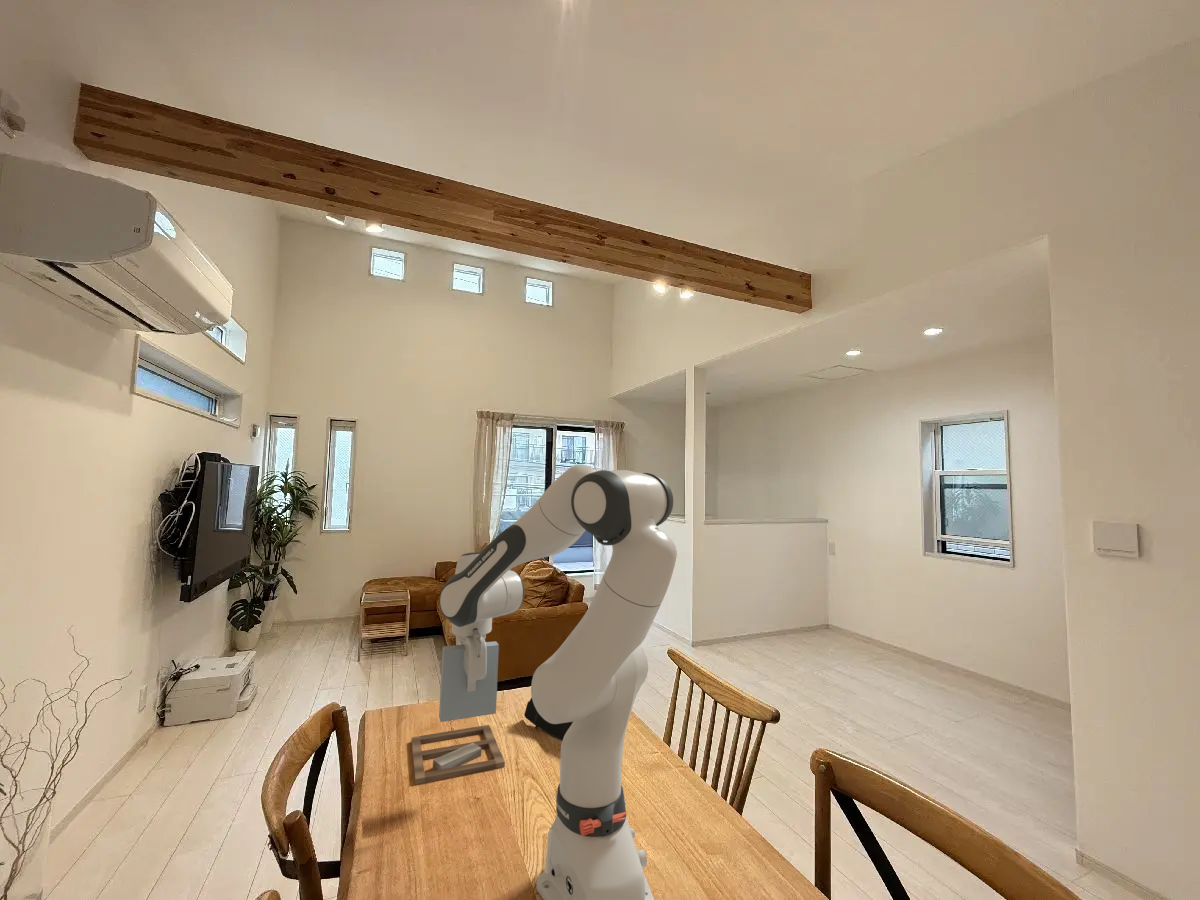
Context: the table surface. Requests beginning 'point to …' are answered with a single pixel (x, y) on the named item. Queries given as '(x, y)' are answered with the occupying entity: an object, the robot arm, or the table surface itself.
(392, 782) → the table surface
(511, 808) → the table surface
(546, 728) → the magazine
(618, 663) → the robot arm
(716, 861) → the table surface
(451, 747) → the rack
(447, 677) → the sheet
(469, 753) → the offcut upper
